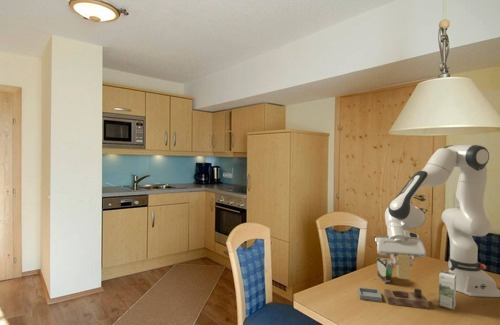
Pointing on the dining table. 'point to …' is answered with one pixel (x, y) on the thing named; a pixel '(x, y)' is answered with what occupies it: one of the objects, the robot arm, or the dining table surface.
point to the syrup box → (447, 289)
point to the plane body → (406, 298)
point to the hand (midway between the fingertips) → (403, 264)
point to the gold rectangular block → (403, 266)
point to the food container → (384, 269)
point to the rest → (369, 294)
